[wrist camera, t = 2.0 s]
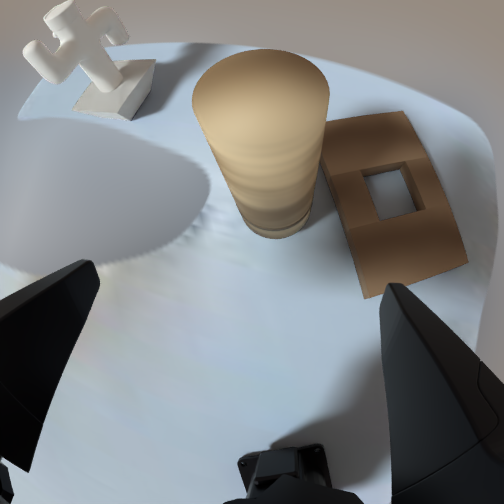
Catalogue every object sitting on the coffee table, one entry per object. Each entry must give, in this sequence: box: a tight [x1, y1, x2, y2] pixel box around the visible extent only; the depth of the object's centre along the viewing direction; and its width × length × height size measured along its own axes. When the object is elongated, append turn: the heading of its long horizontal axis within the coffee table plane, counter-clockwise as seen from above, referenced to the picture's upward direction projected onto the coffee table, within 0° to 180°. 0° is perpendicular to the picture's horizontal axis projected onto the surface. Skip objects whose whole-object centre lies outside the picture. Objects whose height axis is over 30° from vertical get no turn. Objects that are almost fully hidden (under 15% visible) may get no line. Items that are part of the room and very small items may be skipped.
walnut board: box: [320, 111, 469, 299], centre depth 20 cm, size 14×9×2 cm, turn 13°
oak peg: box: [192, 49, 330, 239], centre depth 16 cm, size 5×5×13 cm
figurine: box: [23, 0, 156, 121], centre depth 19 cm, size 7×9×15 cm
